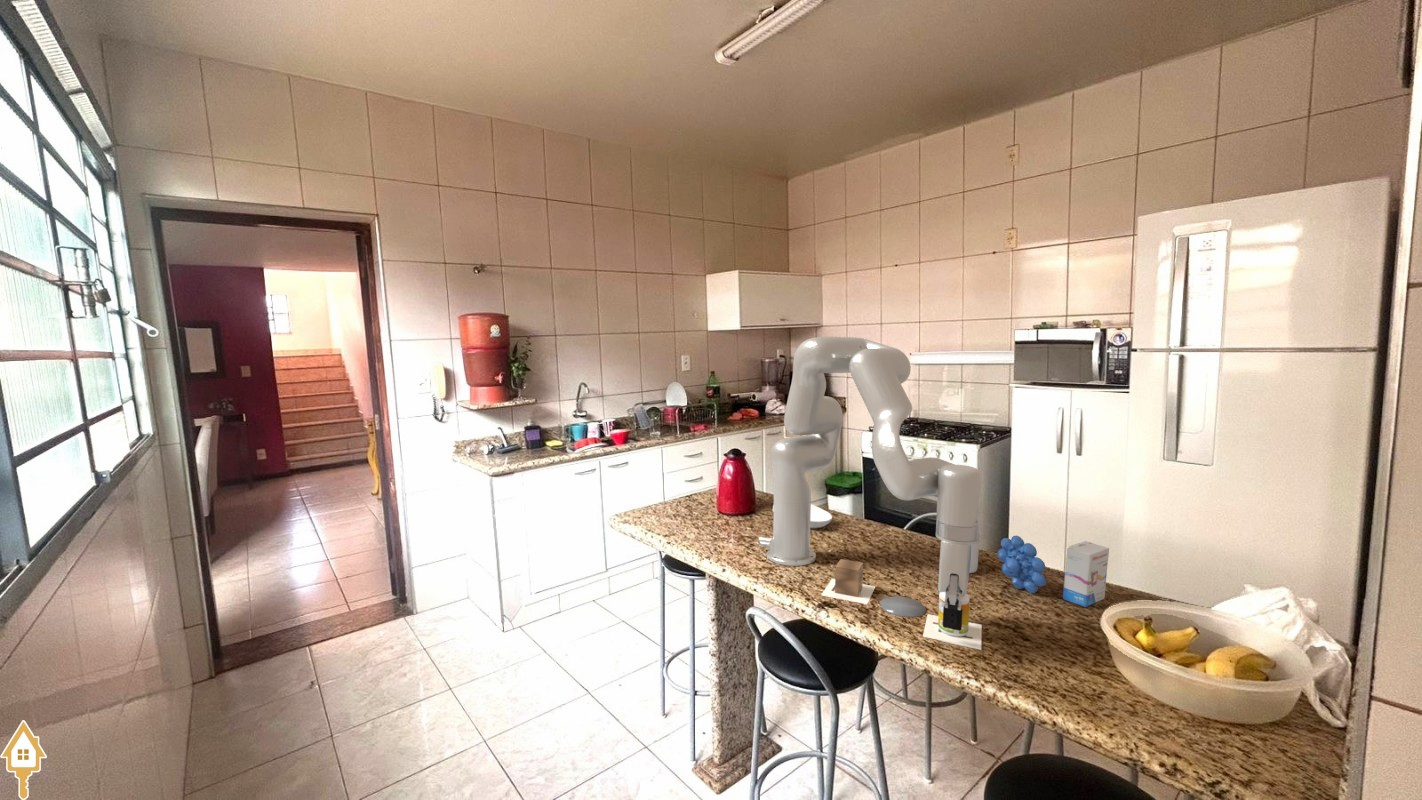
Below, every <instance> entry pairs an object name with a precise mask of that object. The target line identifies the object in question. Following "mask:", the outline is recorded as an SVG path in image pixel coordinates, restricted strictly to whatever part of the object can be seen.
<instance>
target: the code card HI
mask: <svg viewBox="0 0 1422 800" xmlns="http://www.w3.org/2000/svg"><path fill="white" fill-rule="evenodd" d="M875 588H876V586H875V585H870V584H869V585H868V584H864V583H862V590H861V592H860V594H859V596H858V597H854V596H849V595H844V594H839V593H835V578H831V579H830V580H829V582H828V584H827V585H826V587H825V589H824V590H823V592H822V593H821V594H820V595H821V596H823V597H829V598H834V599H837V600H844V601H848V602H853V603H859V604H864V605H868V603H869V602H870V599H871V597H872V595H873V592H874V590H875Z"/></svg>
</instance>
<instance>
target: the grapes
mask: <svg viewBox="0 0 1422 800" xmlns="http://www.w3.org/2000/svg"><path fill="white" fill-rule="evenodd" d="M1000 546H1001V548H1000V549H998V551H997V552H996V553H997V557H998V559H999V560H1000V561H1001V562H1002V563H1003V564H1002V566H1001V572H1002V573H1003V574H1004V575H1005V577H1007V578H1011V582H1012V584H1013V586H1014V587H1015V588H1016V589H1018V590H1023V589H1025V590H1026V591H1027V593H1028V592H1029V593H1030V594H1036V592H1037V591H1038V589H1039V588H1038V587H1044V586H1045V585H1046V582H1047V580H1046V576H1045V575H1044V574H1043V572H1044V571H1045V570H1046V564H1045V562H1044V560H1042V559H1041V558H1040V557H1038V556H1037V554H1038V551H1037V548H1036V547H1035V546H1034V545H1033V543H1030V542H1027V543H1026V542H1025V541H1024V539H1022V537H1021V536H1019V535H1013V536H1011V538H1009V537H1004V538H1002V539H1001V541H1000Z"/></svg>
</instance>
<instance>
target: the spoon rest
mask: <svg viewBox="0 0 1422 800" xmlns="http://www.w3.org/2000/svg"><path fill="white" fill-rule="evenodd" d="M771 511H772V512H773V513H774V504H773V505H772V510H771ZM832 520H833V516H832V514H831V513H830V512H828V511H827V510H825V509H823V508H821V507H819V506H817V505H815V504H814V503H811V514H810V529H821V528H823V527H826V526H827V525H829V524H830V523H831V521H832Z"/></svg>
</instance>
